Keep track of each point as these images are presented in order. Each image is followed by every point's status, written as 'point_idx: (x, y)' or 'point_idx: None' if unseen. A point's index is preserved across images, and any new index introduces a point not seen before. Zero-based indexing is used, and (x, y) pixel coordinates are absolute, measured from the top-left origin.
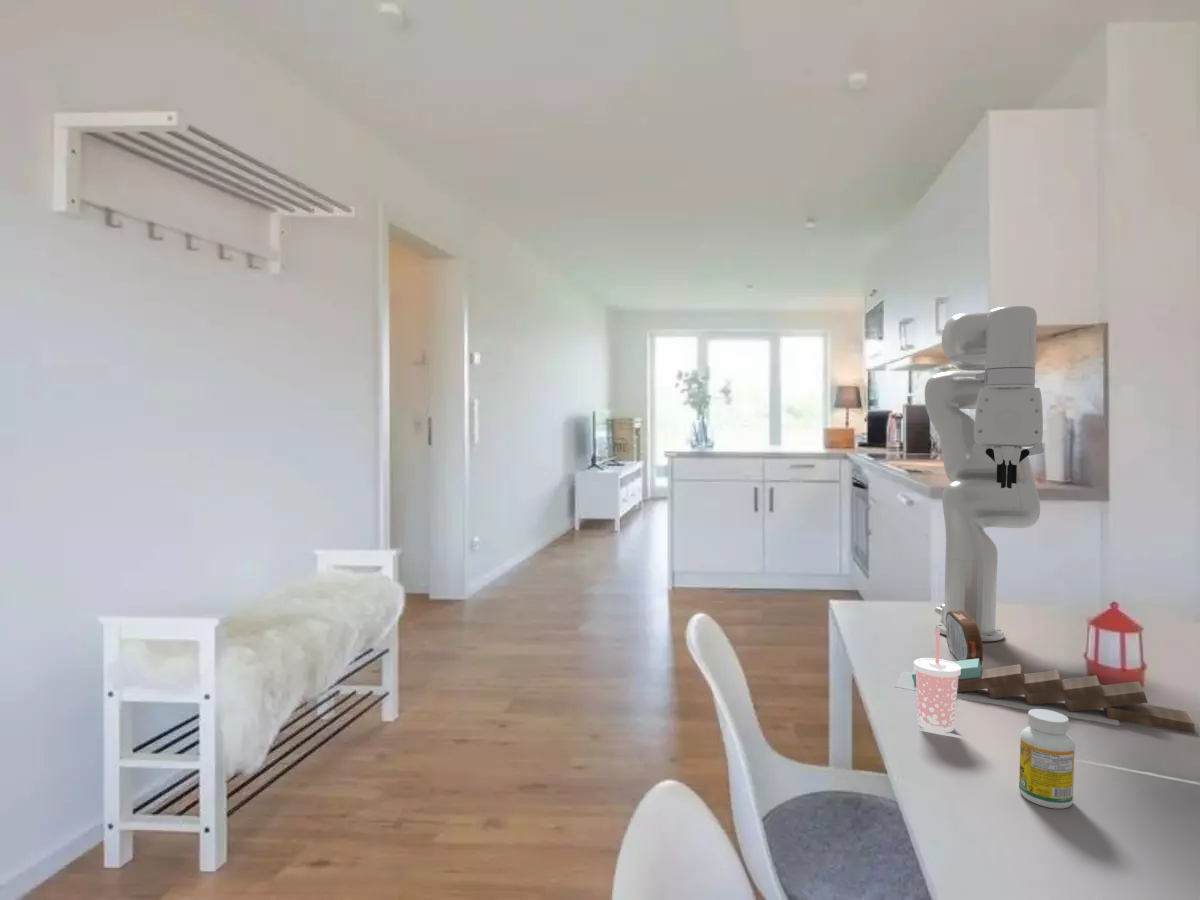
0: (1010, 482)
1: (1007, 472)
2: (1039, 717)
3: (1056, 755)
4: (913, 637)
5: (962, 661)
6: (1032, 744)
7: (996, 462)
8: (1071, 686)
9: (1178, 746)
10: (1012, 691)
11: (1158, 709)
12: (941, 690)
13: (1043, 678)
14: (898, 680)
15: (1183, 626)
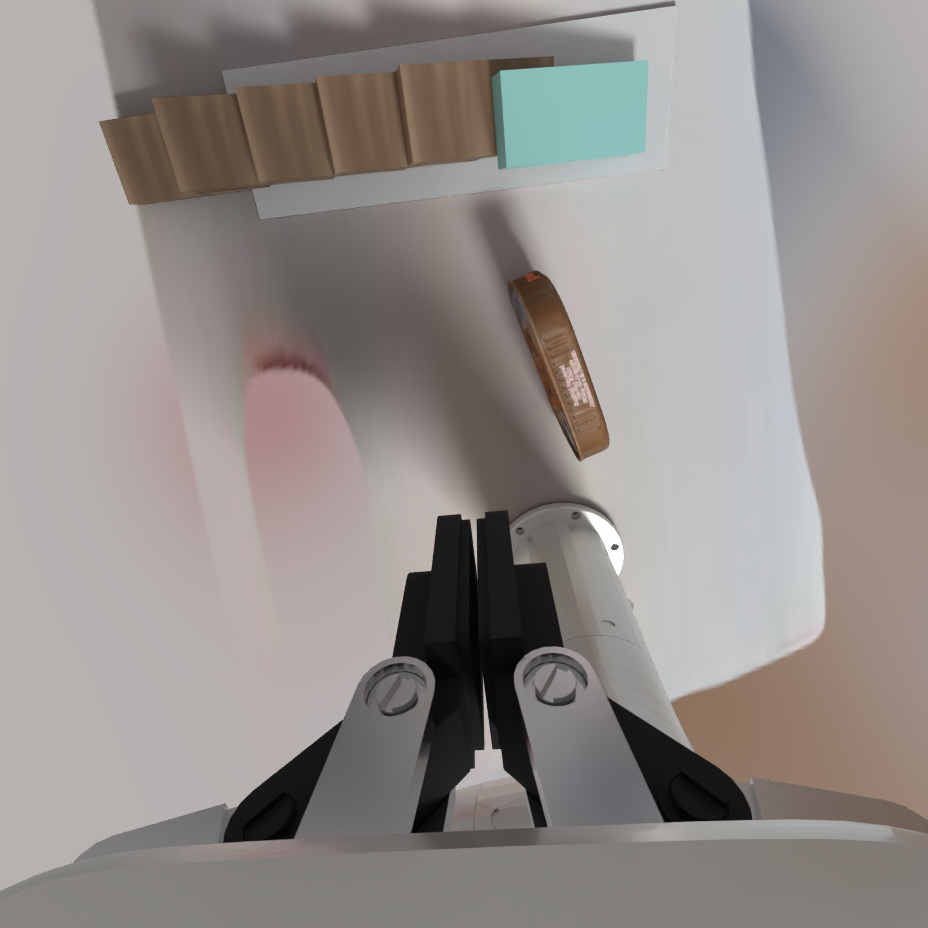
0: (443, 536)
1: (465, 588)
2: None
3: None
4: (659, 468)
5: (541, 150)
6: None
7: (577, 659)
8: (300, 104)
9: (115, 18)
10: None
11: (167, 175)
12: None
13: (355, 100)
14: (672, 73)
15: (265, 765)
